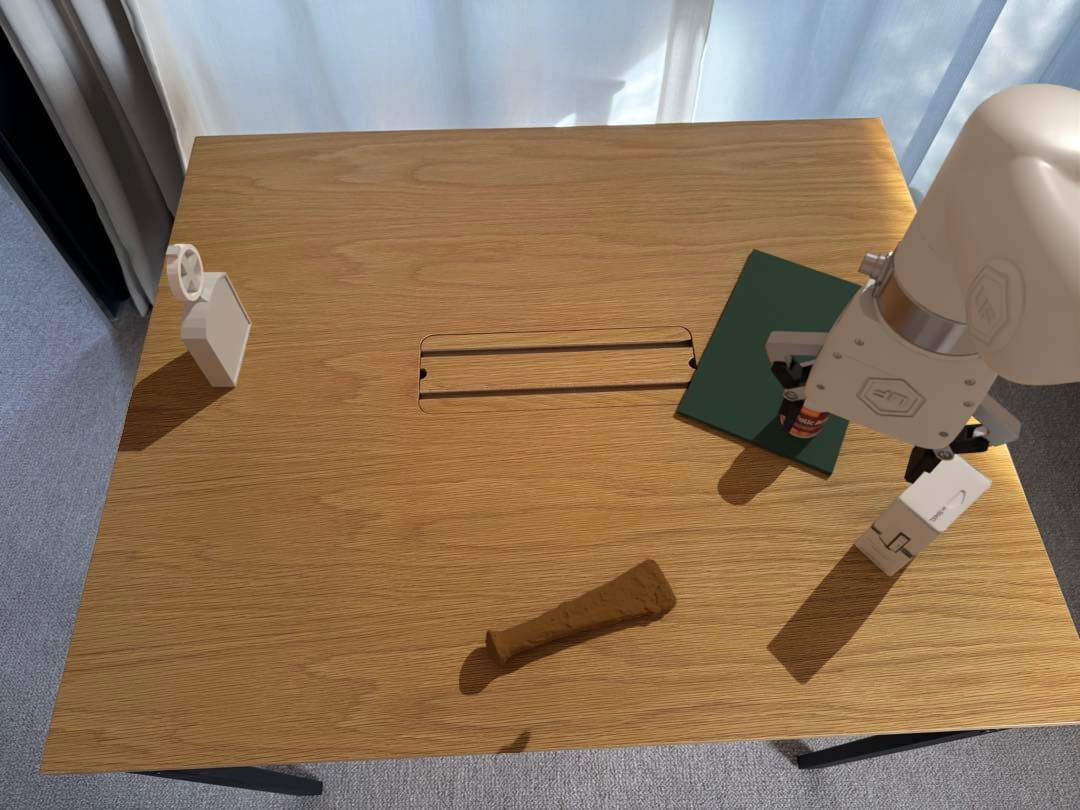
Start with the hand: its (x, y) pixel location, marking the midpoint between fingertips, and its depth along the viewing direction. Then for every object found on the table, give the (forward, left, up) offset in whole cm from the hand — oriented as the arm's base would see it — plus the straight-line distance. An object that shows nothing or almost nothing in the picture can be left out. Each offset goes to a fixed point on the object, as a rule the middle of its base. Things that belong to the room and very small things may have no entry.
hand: (849, 442), depth 60 cm
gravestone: (+66, +5, -23) cm, 70 cm away
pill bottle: (+2, -16, -23) cm, 28 cm away
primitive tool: (+15, +15, -23) cm, 31 cm away
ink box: (-11, -7, -23) cm, 27 cm away
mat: (+6, -25, -23) cm, 35 cm away
